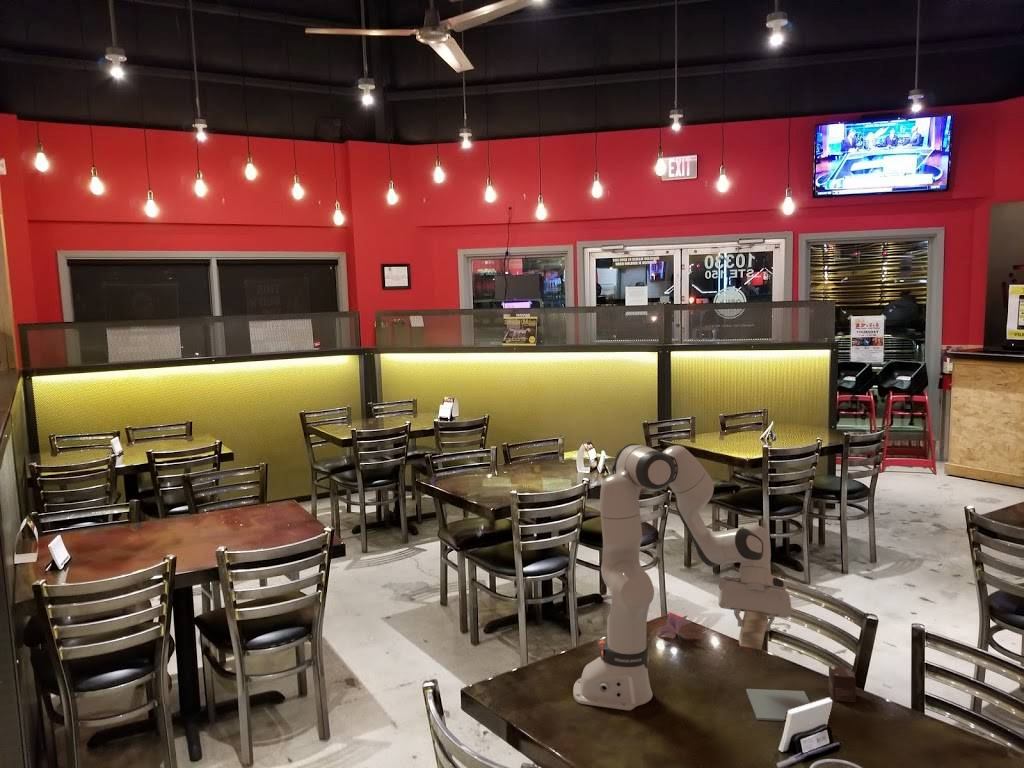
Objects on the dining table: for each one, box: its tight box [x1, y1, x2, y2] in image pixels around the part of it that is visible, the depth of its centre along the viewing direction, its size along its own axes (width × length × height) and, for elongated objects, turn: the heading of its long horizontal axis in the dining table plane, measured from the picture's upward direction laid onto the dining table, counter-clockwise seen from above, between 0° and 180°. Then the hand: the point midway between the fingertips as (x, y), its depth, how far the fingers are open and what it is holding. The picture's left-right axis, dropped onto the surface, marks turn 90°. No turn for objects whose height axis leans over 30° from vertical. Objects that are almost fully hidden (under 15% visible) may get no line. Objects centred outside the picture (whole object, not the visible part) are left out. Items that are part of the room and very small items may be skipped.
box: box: [828, 666, 857, 703], centre depth 211 cm, size 6×6×7 cm
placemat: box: [745, 688, 811, 722], centre depth 207 cm, size 16×16×1 cm
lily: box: [657, 615, 692, 644], centre depth 250 cm, size 12×12×10 cm
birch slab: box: [738, 611, 769, 650], centre depth 216 cm, size 6×3×10 cm, turn 83°
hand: (754, 628), depth 215 cm, fingers closed on birch slab, 6 cm apart
